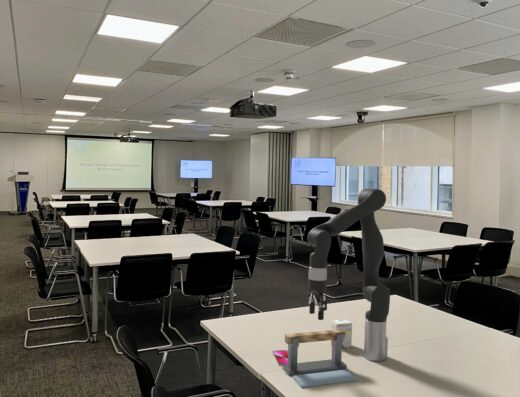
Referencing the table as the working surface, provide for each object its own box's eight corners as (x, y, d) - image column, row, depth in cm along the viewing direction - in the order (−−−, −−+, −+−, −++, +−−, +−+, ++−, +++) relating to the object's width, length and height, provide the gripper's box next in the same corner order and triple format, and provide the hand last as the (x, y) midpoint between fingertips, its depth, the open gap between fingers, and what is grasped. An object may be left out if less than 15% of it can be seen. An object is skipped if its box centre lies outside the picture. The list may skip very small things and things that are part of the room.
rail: (341, 336, 188) (342, 329, 188) (345, 338, 185) (345, 331, 185) (284, 341, 180) (285, 334, 180) (287, 344, 177) (287, 336, 177)
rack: (338, 361, 190) (339, 328, 189) (346, 368, 183) (347, 334, 183) (282, 368, 182) (283, 333, 182) (288, 375, 176) (289, 339, 175)
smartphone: (278, 365, 184) (271, 350, 199) (278, 367, 185) (271, 352, 199) (295, 364, 186) (287, 349, 200) (295, 366, 186) (287, 352, 201)
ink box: (335, 348, 205) (336, 323, 205) (330, 344, 210) (331, 320, 209) (351, 347, 208) (352, 322, 207) (346, 343, 212) (347, 319, 212)
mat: (347, 371, 181) (347, 369, 181) (357, 380, 173) (357, 378, 173) (292, 377, 174) (292, 375, 174) (301, 387, 166) (301, 385, 166)
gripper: (333, 281, 176) (332, 321, 176) (318, 273, 189) (317, 311, 190) (316, 282, 173) (315, 322, 174) (302, 274, 187) (301, 312, 188)
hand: (316, 316), depth 182 cm, fingers open, 8 cm apart
